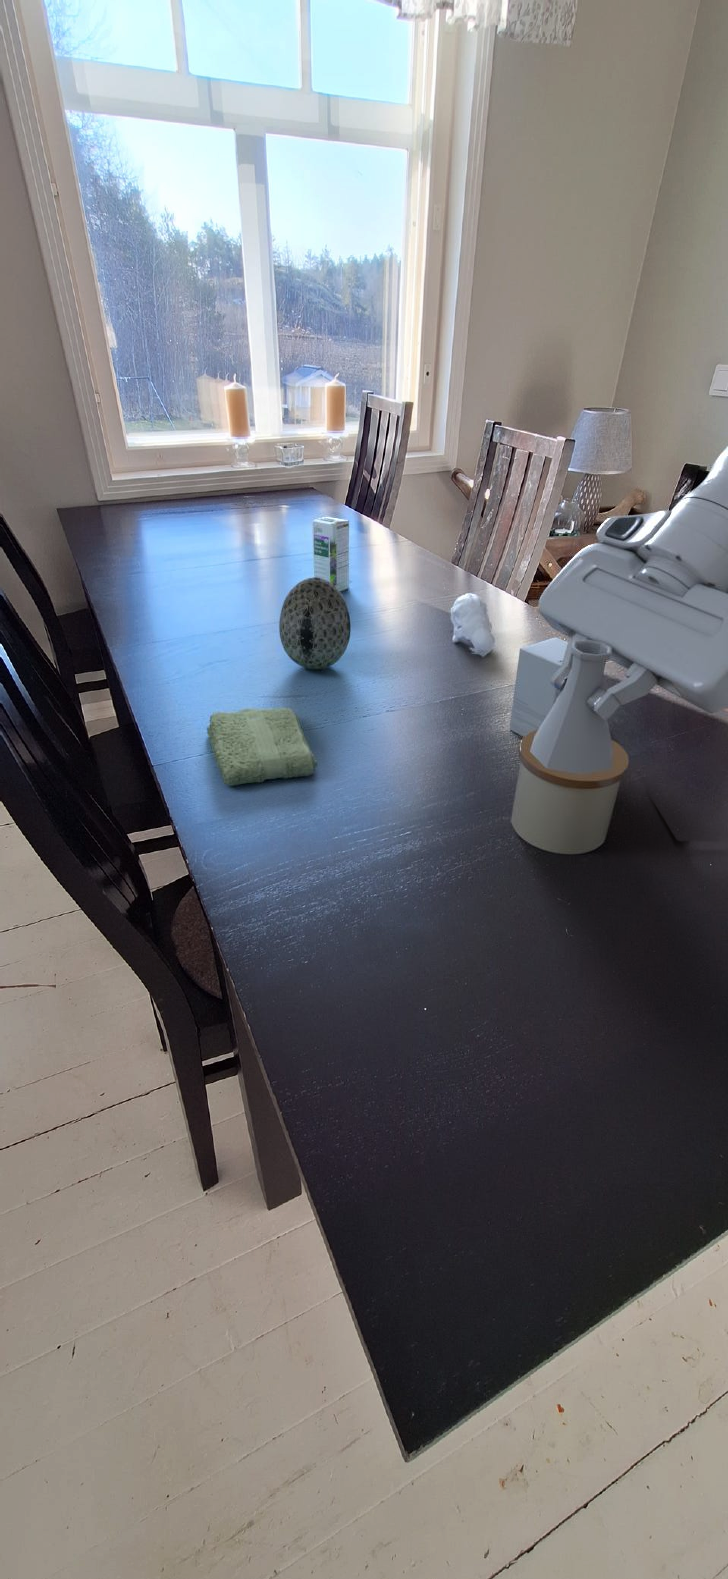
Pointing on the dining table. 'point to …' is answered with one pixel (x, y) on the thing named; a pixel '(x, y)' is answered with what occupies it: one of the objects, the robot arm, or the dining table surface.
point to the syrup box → (331, 551)
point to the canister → (564, 802)
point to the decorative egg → (314, 624)
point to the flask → (577, 718)
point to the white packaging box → (536, 684)
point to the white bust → (472, 623)
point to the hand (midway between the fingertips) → (575, 700)
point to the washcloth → (259, 745)
